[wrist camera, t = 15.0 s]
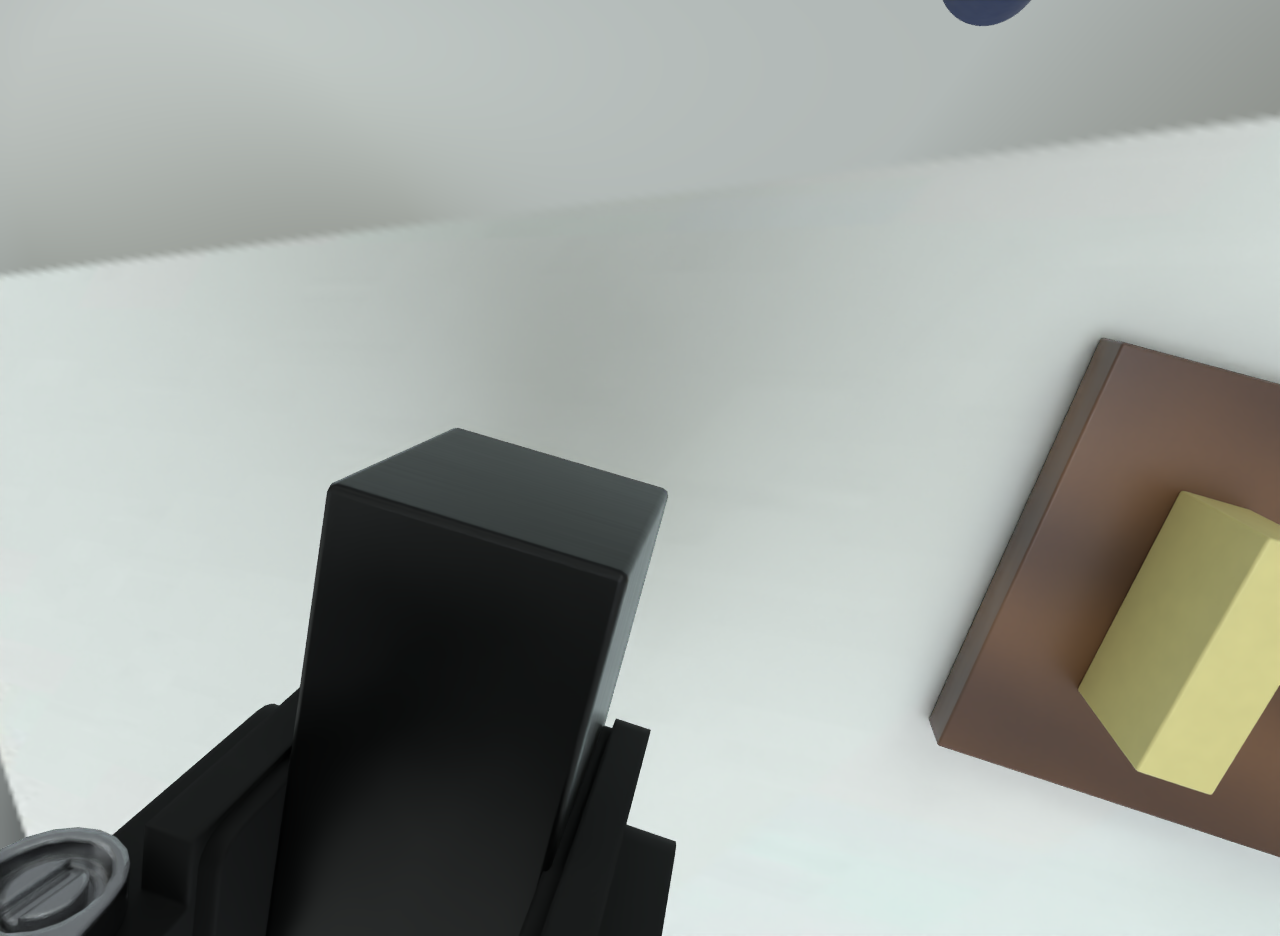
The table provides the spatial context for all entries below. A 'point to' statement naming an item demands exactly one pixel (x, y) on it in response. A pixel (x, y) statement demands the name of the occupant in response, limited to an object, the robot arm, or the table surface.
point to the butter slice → (1193, 644)
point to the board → (1115, 584)
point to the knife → (453, 684)
